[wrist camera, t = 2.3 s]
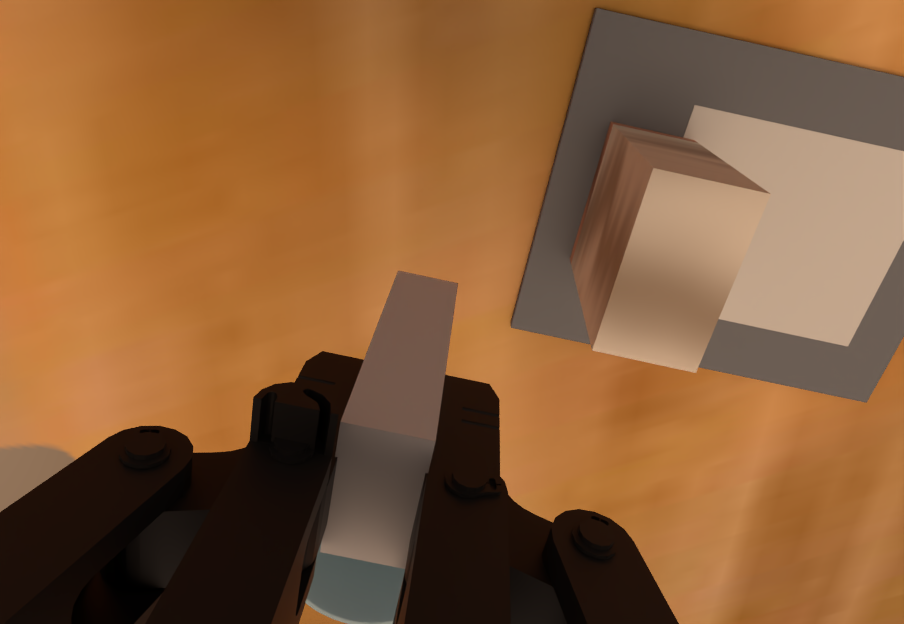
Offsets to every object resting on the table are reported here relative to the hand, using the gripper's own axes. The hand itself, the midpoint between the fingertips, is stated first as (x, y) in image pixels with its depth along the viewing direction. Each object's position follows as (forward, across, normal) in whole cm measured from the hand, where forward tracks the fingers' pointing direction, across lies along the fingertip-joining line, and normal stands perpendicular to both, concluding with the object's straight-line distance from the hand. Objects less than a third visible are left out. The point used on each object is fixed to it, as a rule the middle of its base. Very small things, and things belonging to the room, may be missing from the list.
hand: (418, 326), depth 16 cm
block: (+17, +9, 0) cm, 19 cm away
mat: (+18, +15, 0) cm, 23 cm away
